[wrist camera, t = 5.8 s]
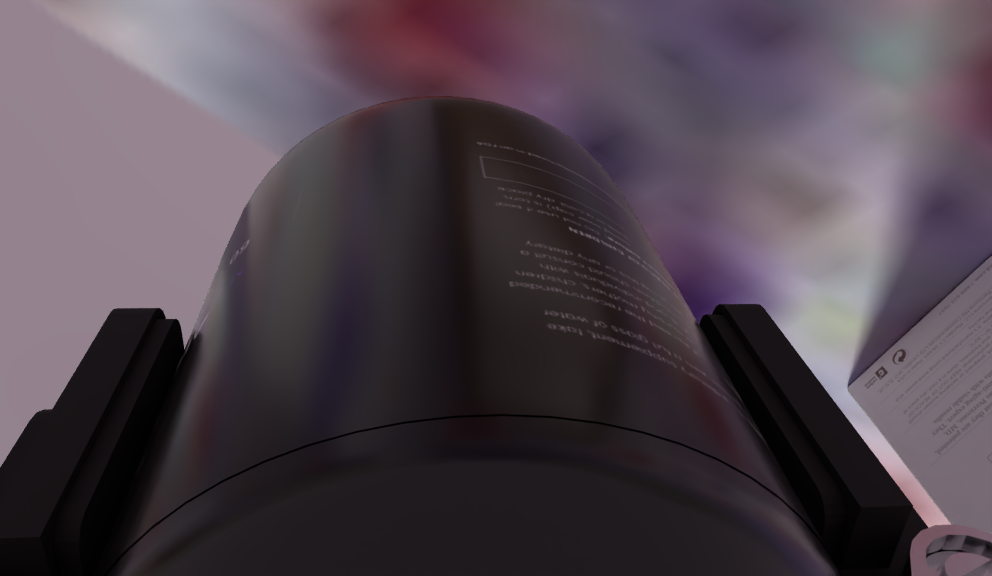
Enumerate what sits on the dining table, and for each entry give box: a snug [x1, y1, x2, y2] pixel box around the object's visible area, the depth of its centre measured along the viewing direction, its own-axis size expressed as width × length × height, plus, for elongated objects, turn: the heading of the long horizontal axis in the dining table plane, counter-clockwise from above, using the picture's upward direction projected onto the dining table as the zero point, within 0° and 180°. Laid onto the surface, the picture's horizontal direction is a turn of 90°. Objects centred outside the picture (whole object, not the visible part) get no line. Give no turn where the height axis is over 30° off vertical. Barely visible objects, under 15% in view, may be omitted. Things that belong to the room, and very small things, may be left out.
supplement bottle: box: [93, 96, 841, 576], centre depth 9 cm, size 7×7×12 cm
